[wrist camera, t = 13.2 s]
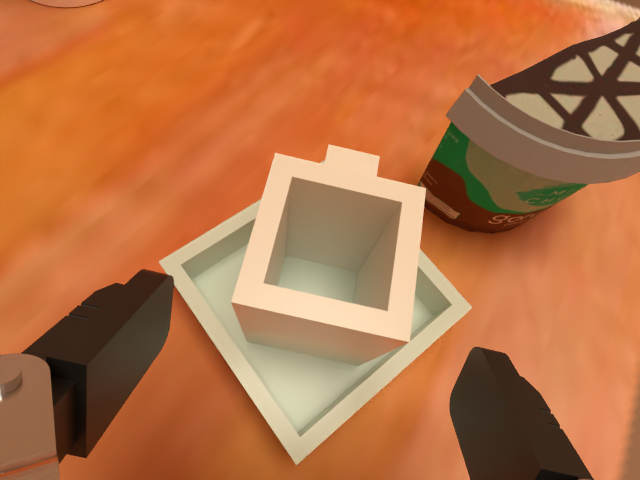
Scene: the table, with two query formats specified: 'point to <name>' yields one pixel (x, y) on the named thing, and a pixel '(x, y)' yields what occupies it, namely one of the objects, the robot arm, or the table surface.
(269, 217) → the cream open box
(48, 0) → the cup
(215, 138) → the table surface
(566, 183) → the food container
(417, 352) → the tray
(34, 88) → the table surface
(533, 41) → the table surface
